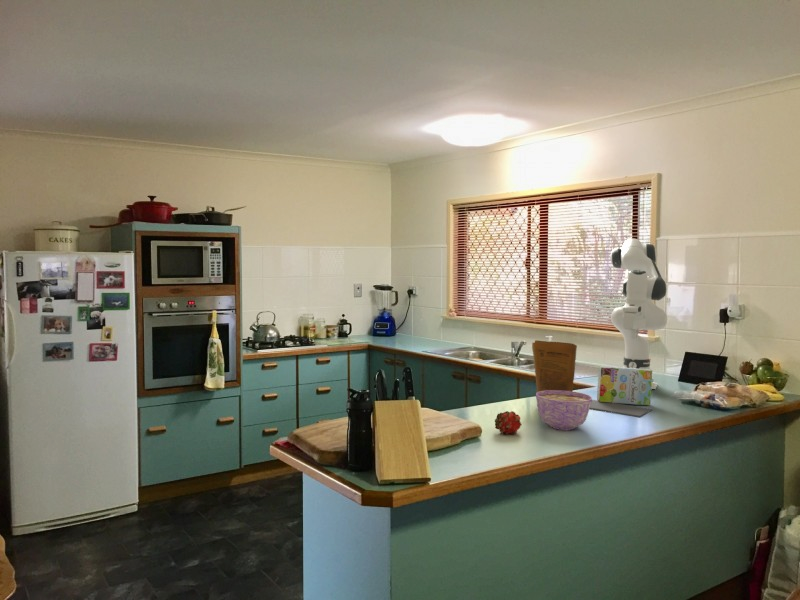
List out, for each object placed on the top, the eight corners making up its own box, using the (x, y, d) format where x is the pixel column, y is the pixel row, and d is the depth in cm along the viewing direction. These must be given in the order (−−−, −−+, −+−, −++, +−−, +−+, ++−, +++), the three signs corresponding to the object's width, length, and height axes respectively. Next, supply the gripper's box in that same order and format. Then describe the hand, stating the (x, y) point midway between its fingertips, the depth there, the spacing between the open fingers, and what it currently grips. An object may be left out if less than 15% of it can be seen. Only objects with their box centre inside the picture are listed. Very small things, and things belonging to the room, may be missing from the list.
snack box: (646, 403, 286) (649, 368, 286) (650, 406, 280) (652, 370, 280) (596, 399, 288) (598, 365, 288) (598, 402, 282) (601, 366, 282)
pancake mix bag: (569, 415, 260) (572, 344, 258) (528, 406, 273) (531, 339, 272) (578, 413, 265) (581, 343, 263) (537, 404, 278) (540, 338, 276)
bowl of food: (603, 430, 238) (604, 398, 237) (561, 437, 228) (562, 403, 227) (563, 418, 255) (564, 388, 254) (522, 423, 245) (524, 392, 244)
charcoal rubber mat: (590, 400, 289) (590, 399, 289) (651, 410, 273) (651, 408, 273) (576, 406, 276) (576, 405, 276) (639, 417, 260) (640, 415, 260)
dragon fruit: (494, 440, 227) (515, 439, 235) (512, 430, 222) (533, 429, 230) (485, 417, 231) (506, 417, 239) (503, 406, 226) (523, 407, 234)
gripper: (636, 305, 301) (634, 336, 301) (621, 307, 284) (619, 340, 285) (650, 306, 297) (648, 337, 298) (636, 308, 280) (634, 341, 281)
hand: (634, 338), depth 291 cm, fingers closed
